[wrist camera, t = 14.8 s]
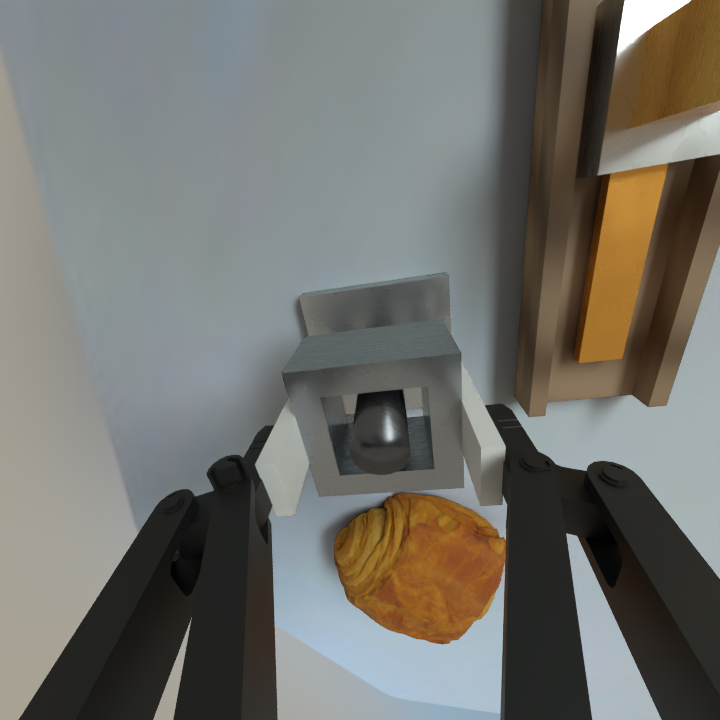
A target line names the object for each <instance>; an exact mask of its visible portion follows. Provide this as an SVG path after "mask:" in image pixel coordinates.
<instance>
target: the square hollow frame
mask: <svg viewBox="0 0 720 720" xmlns="http://www.w3.org/2000/svg"><path fill="white" fill-rule="evenodd" d="M281 374H282V377H283V380H284V384H285V387H286V390H287V393H288V397H289V400H290V403H291V406H292V410H293V413H294V416H295V418H296V421H297V424H298V428H299V431H300V434H301V437H302V441H303V444H304V447H305V451H306V454H307V457H308V460H309V465H310V468H311V472H312V475H313V478H314V481H315V485H316V488H317V491H318V494H319V497H320V496H337V495H353V494H370V493H386V492H403V491H419V490H436V489H453V488H464V461H463V446H462V367H461V352H460V350H459V348H458V346H457V344H456V343H455V341H454V339H453V337H452V335H451V334H450V332H449V330H448V328H447V326H446V325H445V323H444V321H443V319H436V320H429V321H421V322H413V323H405V324H398V325H390V326H382V327H375V328H367V329H359V330H352V331H344V332H336V333H329V334H321V335H313V336H306V337H304V338H303V340H302V341H301V343H300V344H299V346H298V348H297V349H296V351H295V352H294V354H293V356H292V357H291V359H290V361H289V362H288V364H287V365H286V367H285V369H284V370H283V372H282V373H281ZM418 387H421V392H422V404H423V415H424V416H421V417H410V418H407V424H408V433H409V442H410V451H411V454H410V459H409V461H408V463H407V464H406V465H405V466H404V467H403V468H402V469H401V470H399V471H397V472H395V473H392V474H388V475H375V474H370V473H367V472H365V471H363V470H361V469H360V468H359V467H357V466H356V465H355V464H354V462H353V461H352V459H351V456H350V445H351V437H352V430H353V423H348V420H347V415H346V411H345V406H344V401H343V397H342V395H350V394H360V393H369V392H379V391H389V390H398V389H408V388H418Z"/></svg>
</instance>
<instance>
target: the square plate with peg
mask: <svg viewBox="0 0 720 720" xmlns="http://www.w3.org/2000/svg"><path fill="white" fill-rule="evenodd" d="M299 300H300V304H301V308H302V312H303V316H304V320H305V324H306V328H307V332H308V336H313V335H321V334H329V333H336V332H344V331H352V330H359V329H367V328H375V327H382V326H390V325H398V324H405V323H413V322H421V321H429V320H436V319H443V321H444V323H445V325H446V326H447V328H448V330H449V332H450V334H451V325H450V295H449V275H448V274H447V273H439V274H432V275H426V276H419V277H412V278H405V279H398V280H392V281H385V282H378V283H371V284H364V285H358V286H351V287H344V288H337V289H330V290H324V291H317V292H310V293H303V294H302V295H301V296H300V297H299ZM342 397H343V401H344V406H345V411H346V415H347V414H355V416H354V423H353V430H352V437H351V445H350V456H351V459H352V461H353V462H354V464H355V465H356V466H357V467H359V468H360V469H361V470H363V471H365V472H367V473H370V474H375V475H388V474H392V473H395V472H397V471H399V470H401V469H402V468H403V467H404V466H405V465H406V464H407V463H408V461H409V459H410V454H411V451H410V442H409V433H408V424H407V415H406V409H413V408H423V404H422V392H421V387H418V388H408V389H398V390H389V391H379V392H369V393H360V394H350V395H342Z"/></svg>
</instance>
